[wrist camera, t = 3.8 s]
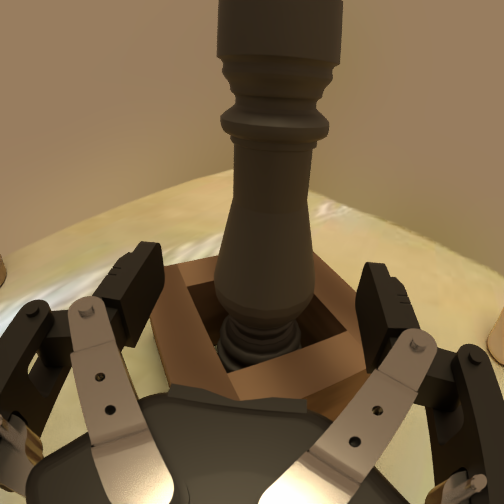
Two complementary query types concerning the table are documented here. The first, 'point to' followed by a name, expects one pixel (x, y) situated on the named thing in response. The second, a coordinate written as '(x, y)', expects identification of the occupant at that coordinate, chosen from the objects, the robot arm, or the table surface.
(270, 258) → the candle holder
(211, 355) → the bore block
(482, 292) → the table surface
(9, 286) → the table surface
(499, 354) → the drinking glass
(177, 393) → the robot arm
